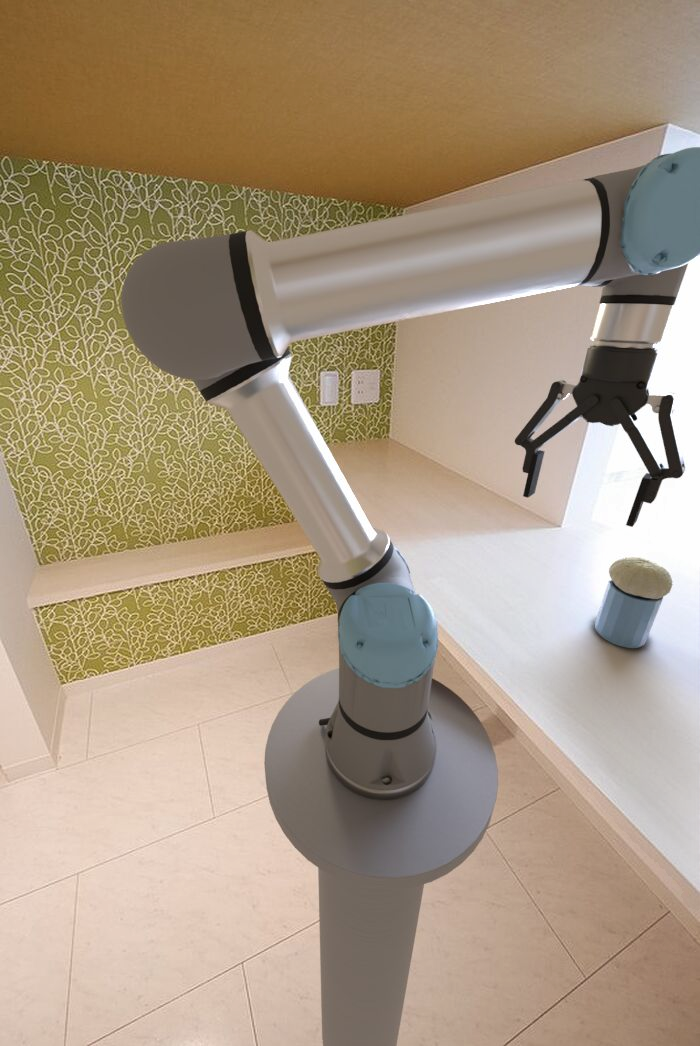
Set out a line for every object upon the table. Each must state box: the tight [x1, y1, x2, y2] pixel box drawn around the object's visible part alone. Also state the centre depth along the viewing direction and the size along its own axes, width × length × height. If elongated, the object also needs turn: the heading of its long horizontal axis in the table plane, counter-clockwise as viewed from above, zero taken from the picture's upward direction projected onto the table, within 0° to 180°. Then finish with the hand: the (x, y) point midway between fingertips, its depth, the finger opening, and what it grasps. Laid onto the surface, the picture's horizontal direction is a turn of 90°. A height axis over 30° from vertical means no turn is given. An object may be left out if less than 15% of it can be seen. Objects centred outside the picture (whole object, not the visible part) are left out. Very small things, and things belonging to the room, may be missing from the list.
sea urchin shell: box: [608, 556, 674, 599], centre depth 75 cm, size 9×8×8 cm
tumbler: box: [594, 577, 664, 649], centre depth 78 cm, size 8×8×10 cm
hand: (576, 508), depth 61 cm, fingers open, 13 cm apart
